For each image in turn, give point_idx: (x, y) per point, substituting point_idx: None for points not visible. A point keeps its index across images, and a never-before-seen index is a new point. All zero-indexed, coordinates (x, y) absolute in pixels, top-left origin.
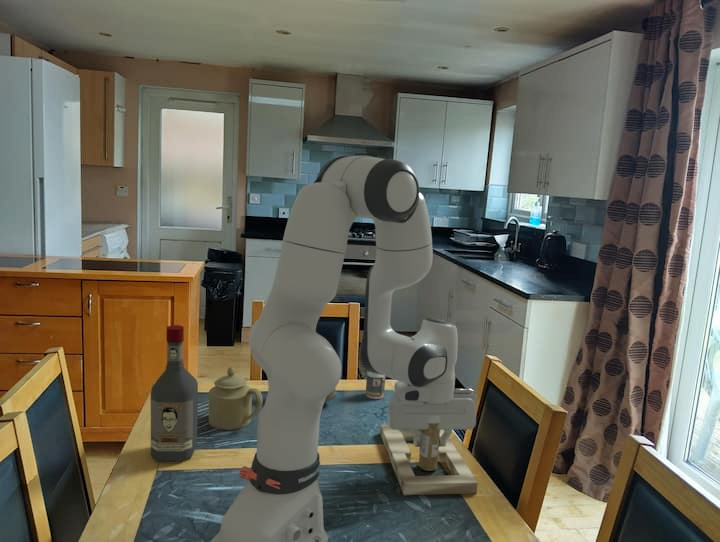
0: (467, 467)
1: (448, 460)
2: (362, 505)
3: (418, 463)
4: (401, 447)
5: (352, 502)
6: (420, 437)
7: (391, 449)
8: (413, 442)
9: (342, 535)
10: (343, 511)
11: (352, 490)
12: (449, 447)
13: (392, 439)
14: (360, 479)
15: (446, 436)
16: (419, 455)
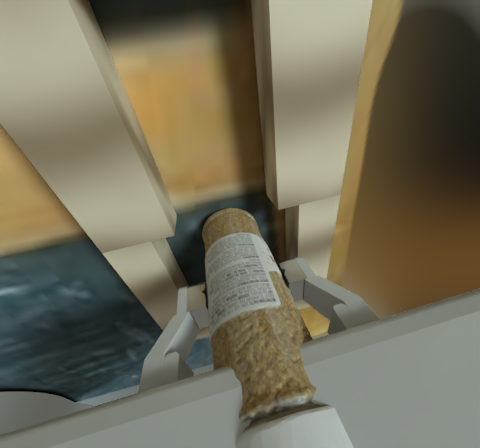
0: (327, 264)
1: (293, 224)
2: (107, 357)
3: (203, 238)
4: (127, 205)
5: (85, 358)
6: (208, 313)
7: (87, 228)
8: (178, 290)
9: (106, 393)
10: (81, 373)
11: (64, 339)
12: (325, 164)
13: (47, 129)
14: (59, 310)
15: (322, 312)
16: (205, 253)
